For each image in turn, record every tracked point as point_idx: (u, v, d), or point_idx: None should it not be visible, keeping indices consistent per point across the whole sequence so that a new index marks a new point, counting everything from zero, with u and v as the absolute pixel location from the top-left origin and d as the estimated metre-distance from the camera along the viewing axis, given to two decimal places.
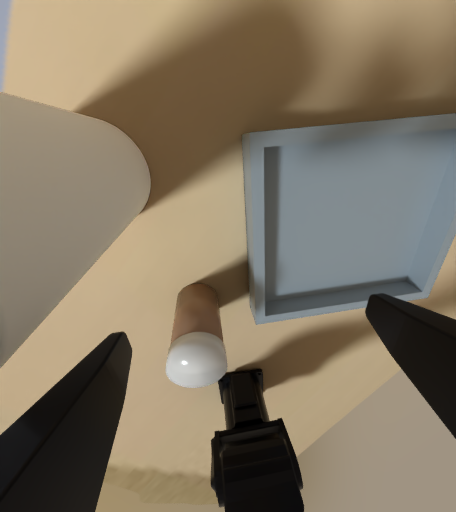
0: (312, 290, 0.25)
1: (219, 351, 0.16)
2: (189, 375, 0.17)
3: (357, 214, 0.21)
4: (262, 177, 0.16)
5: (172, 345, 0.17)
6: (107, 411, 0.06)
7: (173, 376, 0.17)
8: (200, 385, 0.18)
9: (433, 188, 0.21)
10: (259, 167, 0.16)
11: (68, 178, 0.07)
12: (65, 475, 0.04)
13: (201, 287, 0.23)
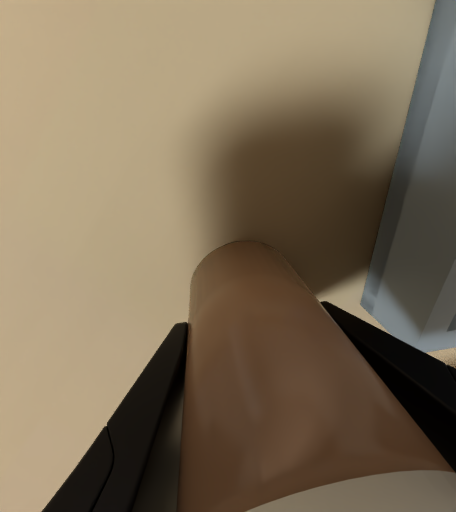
0: None
1: None
2: None
3: None
4: None
5: None
6: None
7: None
8: None
9: None
10: None
11: None
12: (170, 455, 0.05)
13: (261, 249, 0.08)
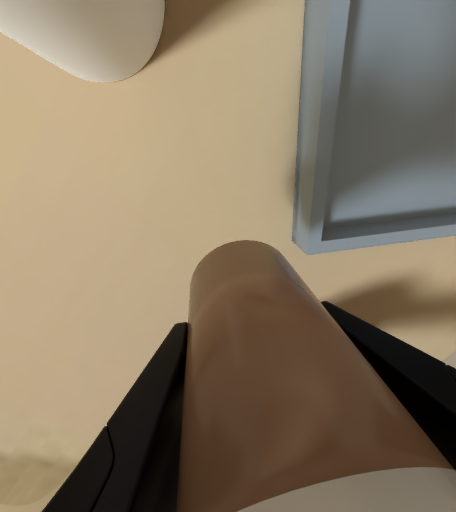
0: (379, 215, 0.18)
1: None
2: None
3: None
4: None
5: None
6: None
7: None
8: None
9: None
10: None
11: None
12: (170, 455, 0.05)
13: (261, 248, 0.08)
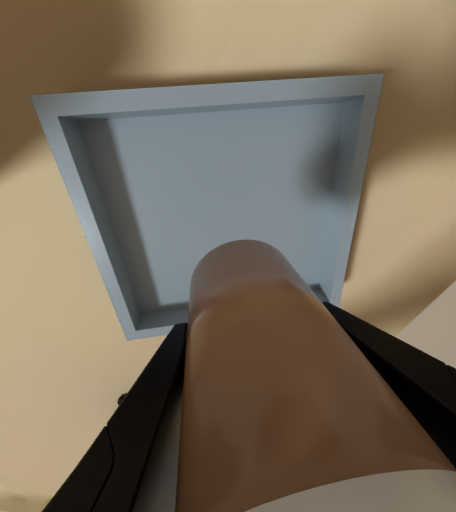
0: None
1: None
2: None
3: (236, 209, 0.17)
4: (69, 156, 0.13)
5: None
6: None
7: None
8: None
9: (326, 178, 0.17)
10: (60, 143, 0.12)
11: None
12: (170, 455, 0.05)
13: (261, 247, 0.08)
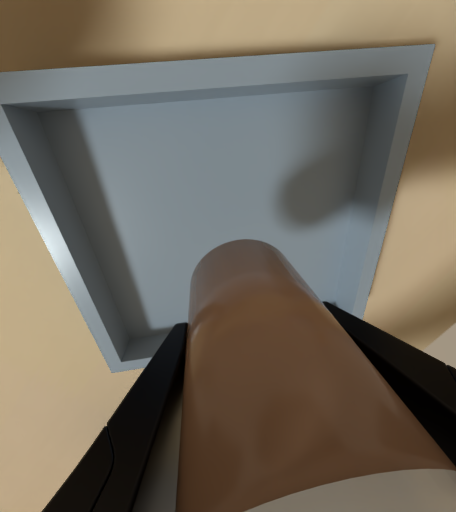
0: None
1: None
2: None
3: (239, 219, 0.14)
4: (22, 158, 0.10)
5: None
6: None
7: None
8: None
9: (348, 181, 0.14)
10: (8, 140, 0.09)
11: None
12: (170, 455, 0.05)
13: (261, 247, 0.08)
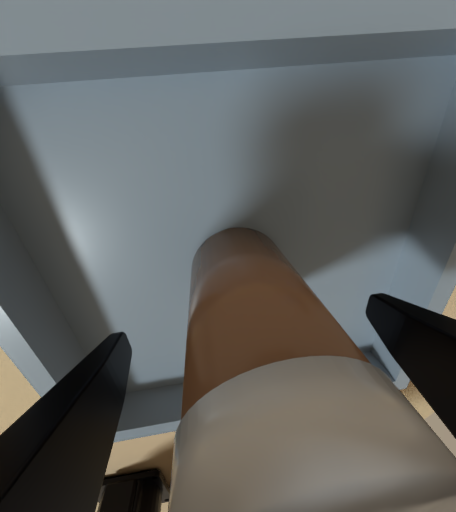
0: None
1: None
2: None
3: None
4: None
5: (196, 422, 0.04)
6: (107, 411, 0.06)
7: None
8: None
9: (407, 195, 0.10)
10: None
11: None
12: (65, 475, 0.04)
13: (253, 233, 0.09)
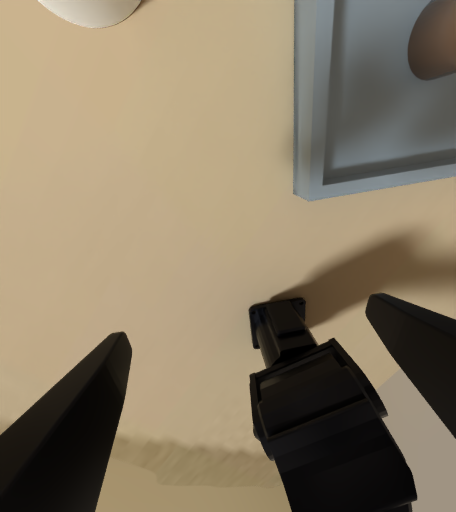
0: (380, 161, 0.18)
1: None
2: None
3: None
4: None
5: None
6: (107, 411, 0.06)
7: None
8: None
9: None
10: None
11: None
12: (65, 475, 0.04)
13: None
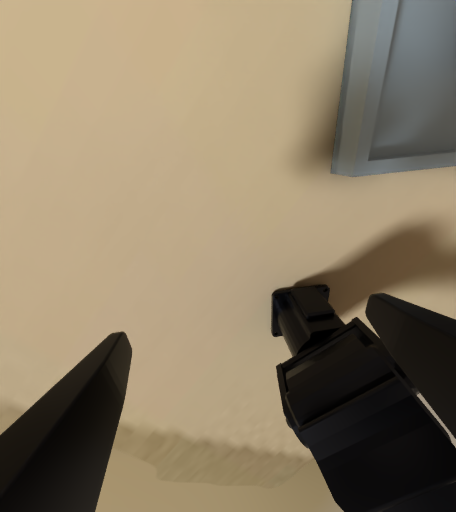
0: (421, 144, 0.18)
1: None
2: None
3: None
4: None
5: None
6: (107, 411, 0.06)
7: None
8: None
9: None
10: None
11: None
12: (65, 475, 0.04)
13: None
